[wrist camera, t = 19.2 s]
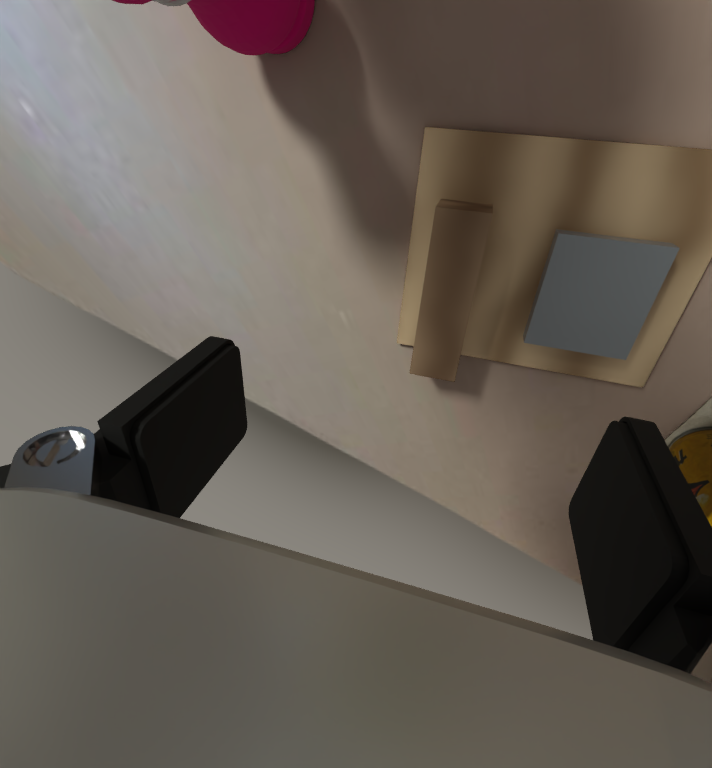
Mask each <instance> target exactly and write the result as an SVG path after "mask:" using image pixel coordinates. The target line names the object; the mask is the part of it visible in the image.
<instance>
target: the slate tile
mask: <svg viewBox="0 0 712 768" xmlns="http://www.w3.org/2000/svg"><path fill="white" fill-rule="evenodd" d="M679 249H680V248H679V247H678V246H676V245H675V244H673V243H668V242H660V241H652V240H643V239H635V238H626V237H618V236H610V235H601V234H593V233H584V232H576V231H568V230H559V229H556V231H555V234H554V237H553V240H552V244H551V247H550V250H549V253H548V256H547V260H546V263H545V266H544V269H543V272H542V276H541V279H540V282H539V285H538V288H537V291H536V295H535V298H534V301H533V304H532V307H531V311H530V314H529V317H528V320H527V323H526V327H525V330H524V333H523V340H524V343H528V344H534V345H540V346H546V347H552V348H558V349H563V350H569V351H575V352H581V353H587V354H593V355H599V356H604V357H610V358H616V359H622V360H626V359H627V357H628V355H629V353H630V351H631V349H632V346H633V344H634V342H635V340H636V338H637V336H638V334H639V332H640V330H641V328H642V326H643V324H644V322H645V319H646V317H647V315H648V313H649V311H650V309H651V307H652V305H653V303H654V301H655V299H656V297H657V295H658V292H659V290H660V288H661V286H662V284H663V282H664V280H665V278H666V276H667V274H668V272H669V270H670V268H671V265H672V263H673V261H674V259H675V257H676V255H677V253H678V251H679Z"/></svg>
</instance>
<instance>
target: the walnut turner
mask: <svg viewBox="0 0 712 768" xmlns="http://www.w3.org/2000/svg"><path fill="white" fill-rule="evenodd" d="M492 215H493V204H485V203H476V202H467V201H458V200H449V199H441V200H440V201H439V203H438V204H437V206H436V207H435V214H434V220H433V226H432V233H431V239H430V246H429V252H428V258H427V265H426V271H425V278H424V284H423V290H422V297H421V303H420V310H419V316H418V322H417V329H416V335H415V342H414V348H413V355H412V361H411V367H410V374H415V375H420V376H425V377H431V378H436V379H441V380H446V381H451V382H455V377H456V373H457V368H458V364H459V360H460V355H461V351H462V347H463V342H464V338H465V333H466V329H467V325H468V320H469V316H470V312H471V307H472V303H473V298H474V294H475V290H476V285H477V281H478V276H479V272H480V268H481V263H482V259H483V255H484V250H485V246H486V241H487V237H488V233H489V228H490V224H491V220H492Z"/></svg>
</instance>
